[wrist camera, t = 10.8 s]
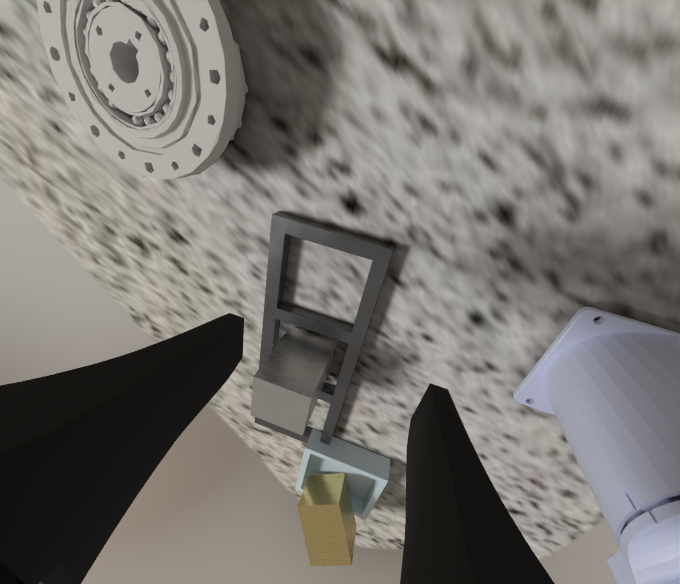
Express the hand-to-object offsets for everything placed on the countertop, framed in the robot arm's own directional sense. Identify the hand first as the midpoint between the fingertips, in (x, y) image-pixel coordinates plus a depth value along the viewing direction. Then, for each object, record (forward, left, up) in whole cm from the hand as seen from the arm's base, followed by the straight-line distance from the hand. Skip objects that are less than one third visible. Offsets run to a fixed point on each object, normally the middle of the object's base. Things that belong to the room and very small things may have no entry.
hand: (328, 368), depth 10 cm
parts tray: (-3, +23, -10) cm, 25 cm away
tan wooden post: (-2, +23, -7) cm, 24 cm away
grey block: (+3, +9, -10) cm, 14 cm away
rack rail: (+3, +9, -10) cm, 14 cm away
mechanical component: (+9, -5, -8) cm, 13 cm away
